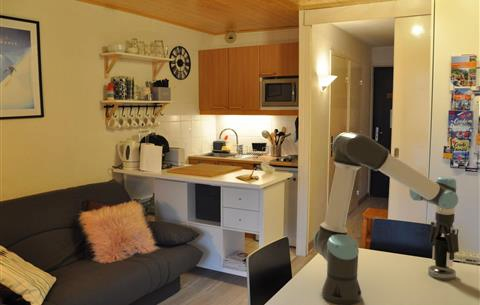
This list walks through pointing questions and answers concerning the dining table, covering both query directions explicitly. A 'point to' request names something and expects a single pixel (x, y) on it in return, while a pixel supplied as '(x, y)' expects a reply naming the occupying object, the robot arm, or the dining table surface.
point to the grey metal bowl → (441, 273)
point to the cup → (441, 252)
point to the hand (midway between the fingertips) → (442, 262)
